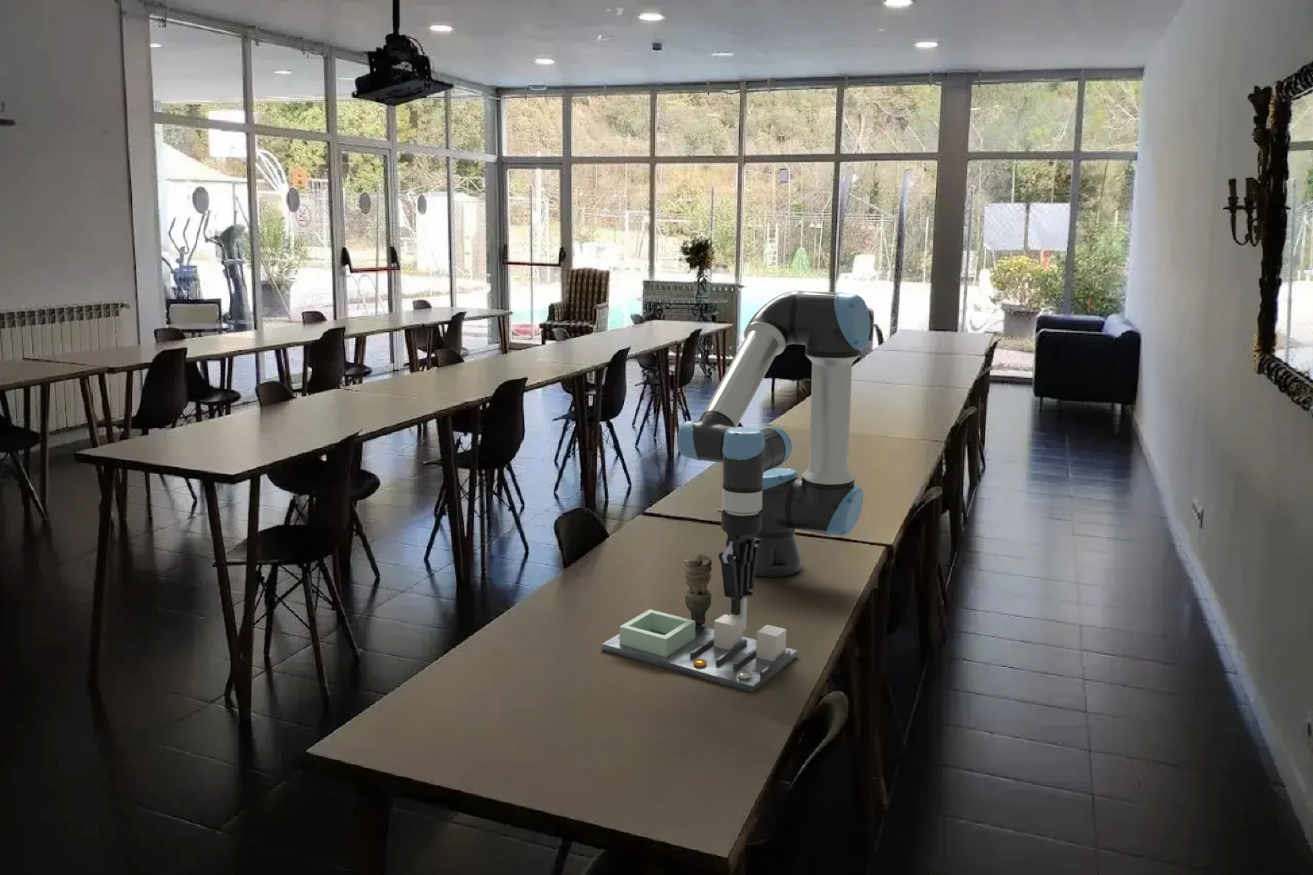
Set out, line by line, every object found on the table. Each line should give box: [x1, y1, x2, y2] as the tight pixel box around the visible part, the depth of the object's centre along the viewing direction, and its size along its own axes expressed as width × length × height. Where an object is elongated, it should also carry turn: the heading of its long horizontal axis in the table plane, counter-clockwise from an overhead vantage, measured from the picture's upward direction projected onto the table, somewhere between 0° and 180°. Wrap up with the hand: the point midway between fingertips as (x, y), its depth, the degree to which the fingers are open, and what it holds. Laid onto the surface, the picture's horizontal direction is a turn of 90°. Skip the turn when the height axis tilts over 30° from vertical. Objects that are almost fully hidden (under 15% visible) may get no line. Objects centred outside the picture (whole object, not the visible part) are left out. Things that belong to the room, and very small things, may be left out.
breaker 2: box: [756, 624, 787, 661], centre depth 188 cm, size 4×4×5 cm
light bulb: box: [683, 553, 713, 626], centre depth 203 cm, size 6×6×15 cm
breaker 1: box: [713, 613, 744, 650], centre depth 193 cm, size 4×4×5 cm
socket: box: [619, 609, 695, 657], centre depth 194 cm, size 10×10×4 cm
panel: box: [601, 624, 798, 694], centre depth 192 cm, size 18×32×2 cm, turn 57°
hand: (738, 628), depth 196 cm, fingers closed
